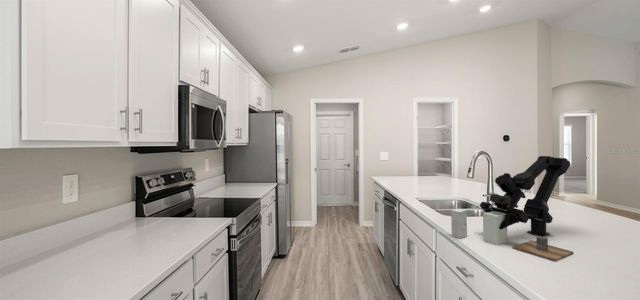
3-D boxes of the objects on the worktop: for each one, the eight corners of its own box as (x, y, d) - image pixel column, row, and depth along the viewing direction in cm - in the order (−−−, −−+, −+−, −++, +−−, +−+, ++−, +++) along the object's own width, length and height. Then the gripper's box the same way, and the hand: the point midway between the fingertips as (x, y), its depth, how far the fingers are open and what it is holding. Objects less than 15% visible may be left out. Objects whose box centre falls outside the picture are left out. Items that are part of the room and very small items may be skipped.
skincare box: (460, 238, 120) (460, 212, 120) (450, 236, 124) (450, 210, 124) (467, 236, 124) (467, 210, 123) (458, 233, 127) (457, 208, 127)
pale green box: (493, 238, 120) (493, 211, 120) (507, 242, 114) (507, 215, 114) (483, 240, 118) (483, 213, 118) (496, 244, 112) (496, 216, 112)
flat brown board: (531, 242, 115) (531, 229, 114) (573, 253, 102) (573, 240, 102) (512, 248, 108) (512, 235, 108) (555, 261, 96) (555, 247, 96)
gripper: (482, 184, 126) (464, 210, 123) (523, 190, 108) (503, 220, 105) (494, 199, 129) (477, 225, 125) (536, 208, 111) (518, 238, 108)
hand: (492, 226), depth 116 cm, fingers closed on pale green box, 6 cm apart
